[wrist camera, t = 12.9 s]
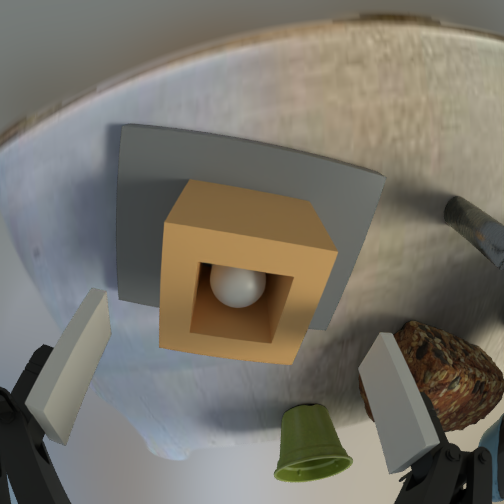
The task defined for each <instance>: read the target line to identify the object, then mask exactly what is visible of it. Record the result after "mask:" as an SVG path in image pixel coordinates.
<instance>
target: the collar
mask: <svg viewBox="0 0 504 504" xmlns="http://www.w3.org/2000/svg"><path fill="white" fill-rule="evenodd" d="M337 254H338V250H337V249H336V247H335V245H334V243H333V241H332V240H331V238H330V236H329V234H328V232H327V231H326V229H325V227H324V225H323V224H322V222H321V220H320V218H319V217H318V215H317V213H316V212H315V210H314V208H313V206H312V205H311V203H310V201H306V200H301V199H297V198H292V197H287V196H282V195H277V194H272V193H267V192H261V191H256V190H251V189H245V188H240V187H234V186H229V185H223V184H217V183H211V182H205V181H198V180H192V179H189V181H188V183H187V184H186V186H185V188H184V189H183V191H182V193H181V194H180V196H179V198H178V199H177V201H176V203H175V205H174V206H173V208H172V210H171V211H170V213H169V215H168V217H167V218H166V220H165V222H164V233H163V247H162V263H161V283H160V315H159V348H165V349H170V350H176V351H182V352H187V353H194V354H200V355H207V356H213V357H221V358H228V359H236V360H245V361H253V362H263V363H274V364H285V365H292V363H293V361H294V359H295V357H296V354H297V352H298V350H299V348H300V345H301V343H302V341H303V339H304V336H305V334H306V332H307V329H308V327H309V325H310V322H311V320H312V318H313V315H314V313H315V310H316V308H317V306H318V303H319V301H320V298H321V296H322V293H323V291H324V288H325V286H326V283H327V280H328V278H329V275H330V273H331V270H332V268H333V265H334V262H335V260H336V257H337ZM203 262H204V263H210V264H216V265H222V266H228V267H234V268H241V269H247V270H253V271H259V272H265V273H266V285H265V289H264V292H263V294H262V295H261V297H260V298H259V299H258V300H257V301H256V302H255V303H253V304H251V305H249V306H247V307H242V308H234V307H230V306H227V305H225V304H223V303H222V302H220V301H219V300H218V299H217V298H216V296H215V295H214V293H213V291H212V289H211V284H210V275H211V268H212V267H207V266H203Z"/></svg>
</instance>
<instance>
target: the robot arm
mask: <svg viewBox="0 0 504 504" xmlns="http://www.w3.org/2000/svg"><path fill="white" fill-rule="evenodd" d="M110 336H111V327H110V319H109V311H108V301H107V291H104V290H100V289H95V288H91V290H90V291H89V293H88V294H87V296H86V297H85V299H84V300H83V302H82V303H81V305H80V307H79V308H78V310H77V311H76V313H75V314H74V316H73V318H72V319H71V321H70V322H69V324H68V326H67V327H66V329H65V330H64V332H63V334H62V335H61V337H60V339H59V341H58V342H57V344H56V346H55V347H54V348H53V347H50V346H47V345H44V344H43V345H42V346H41V347H40V348H38V349H37V350H36V351H35V352H34V353H33V355H32V357H31V358H30V360H29V363H27V365H26V367H25V370H23V372H22V374H21V376H20V377H19V379H18V381H17V383H16V385H15V386H14V388H13V390H12V392H11V394H10V392H8V391H7V390H6V389H5V388H2V387H0V504H11V500H10V494H9V488H8V481H7V475H8V478H9V481H10V484H11V486H12V489H13V492H14V494H15V497H16V500H17V502H18V504H71V502H70V500H69V499H68V497H67V494H66V493H65V490H64V489H63V487H62V484H61V482H60V480H59V478H58V476H57V473H56V471H55V469H54V467H53V464H52V462H51V459H50V457H49V454H48V452H47V450H46V447H45V444H44V442H43V437H44V435H45V434H46V435H47V437H48V438H49V439H50V440H52V441H54V442H57V443H59V444H62V445H64V446H66V445H67V442H68V439H69V436H70V433H71V430H72V428H73V425H74V422H75V420H76V417H77V414H78V412H79V409H80V406H81V404H82V401H83V399H84V396H85V394H86V391H87V389H88V386H89V384H90V382H91V379H92V377H93V375H94V372H95V370H96V368H97V365H98V363H99V361H100V358H101V356H102V354H103V352H104V349H105V347H106V345H107V343H108V341H109V338H110ZM358 370H359V373H360V376H361V379H362V382H363V385H364V388H365V392H366V395H367V398H368V401H369V404H370V408H371V411H372V414H373V418H374V421H375V424H376V428H377V431H378V435H379V438H380V442H381V445H382V449H383V453H384V456H385V460H386V464H387V468H388V471H389V474H393V473H398V472H402V471H404V470H405V469H407V468H408V467H409V466H411V469H412V471H410V472H409V473H407V474H406V475H404V476H403V477H401V479H400V480H399V482H401V481H403V480H404V479H405V478H406V480H405V482H404V483H403V487H402V489H401V491H400V493H399V495H398V497H397V499H396V501H395V503H394V504H492V501H493V502H499V501H503V500H504V413H503V414H502V416H501V417H500V419H499V420H497V421H496V422H495V423H494V424H493V425H492V426H491V427H490V428H489V429H487V430H486V431H485V433H484V434H483V436H482V437H481V440H480V442H479V446H478V448H477V449H475V450H474V451H473V452H465V451H461V450H460V448H459V447H458V446H456V445H455V444H452V443H449V442H448V440H447V437H446V435H445V432H444V430H443V428H442V425H441V423H440V420H439V418H438V417H437V413H436V411H435V410H434V406H433V404H432V402H431V399H430V398H429V397H428V396H427V395H426V394H425V392H419V390H418V388H417V385H416V383H415V381H414V379H413V376H412V374H411V372H410V370H409V368H408V365H407V363H406V361H405V359H404V357H403V355H402V353H401V351H400V349H399V346H398V344H397V342H396V340H395V338H394V336H393V334H392V333H383V332H380V333H379V335H378V336H377V338H376V340H375V341H374V343H373V345H372V346H371V348H370V350H369V351H368V353H367V355H366V356H365V358H364V360H363V361H362V363H361V364H360V366H359V367H358ZM6 472H7V473H6ZM465 483H466V489H463V485H464V484H465Z"/></svg>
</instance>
